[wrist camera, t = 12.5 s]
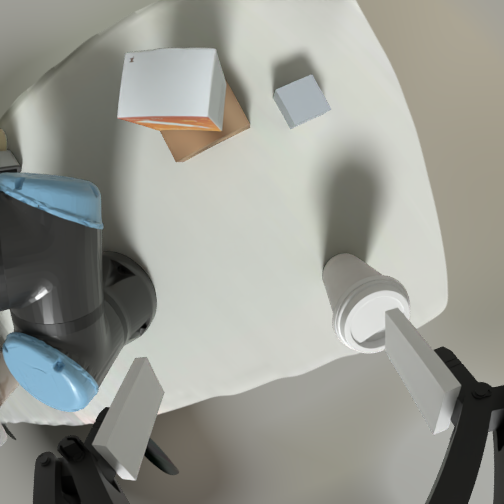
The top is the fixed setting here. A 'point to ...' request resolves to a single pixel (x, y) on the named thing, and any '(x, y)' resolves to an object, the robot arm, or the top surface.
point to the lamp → (5, 390)
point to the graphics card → (8, 163)
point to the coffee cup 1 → (3, 141)
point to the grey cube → (301, 101)
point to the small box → (173, 89)
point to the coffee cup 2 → (361, 302)
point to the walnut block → (197, 141)
